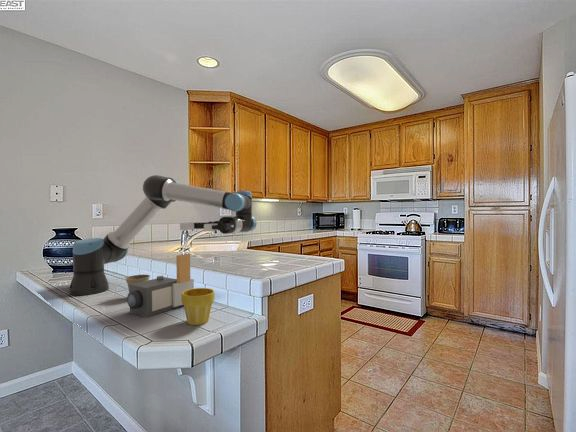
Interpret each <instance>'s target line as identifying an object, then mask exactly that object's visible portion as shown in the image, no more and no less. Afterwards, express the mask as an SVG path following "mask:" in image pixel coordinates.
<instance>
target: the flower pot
mask: <svg viewBox="0 0 576 432" xmlns="http://www.w3.org/2000/svg"><path fill="white" fill-rule="evenodd" d="M150 277H151V275H150V274H135V275H134V274H133V275H128V276H126V277H125V279H124V280H126V283H127V289H128V290H129V284H134V283H138V282H143V281H147V280H150Z"/></svg>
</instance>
